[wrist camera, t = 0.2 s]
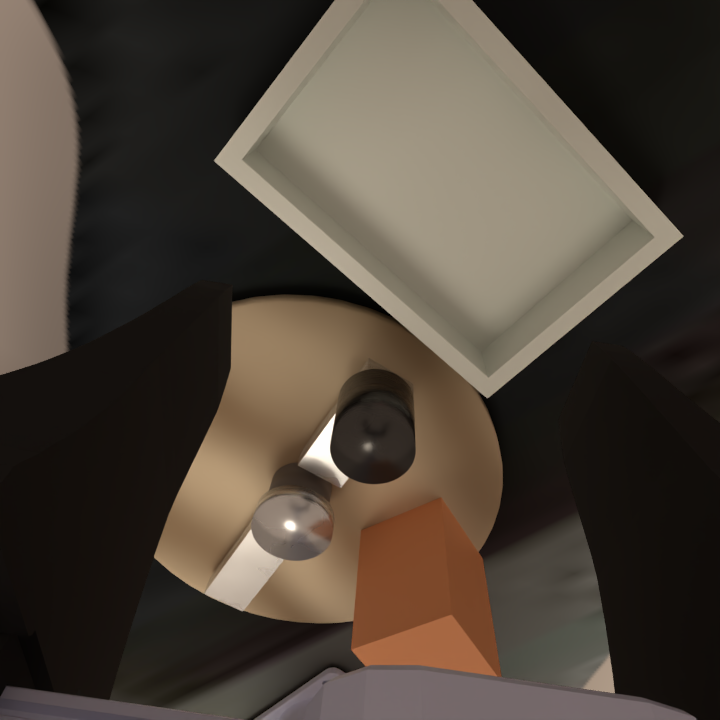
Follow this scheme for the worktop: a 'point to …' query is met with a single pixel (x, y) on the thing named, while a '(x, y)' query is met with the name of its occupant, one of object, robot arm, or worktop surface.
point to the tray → (446, 182)
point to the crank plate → (296, 427)
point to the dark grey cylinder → (332, 463)
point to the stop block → (423, 595)
